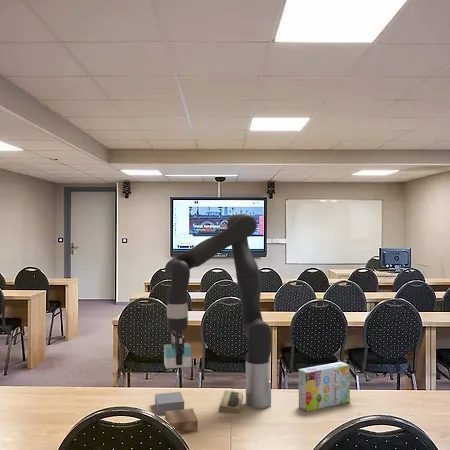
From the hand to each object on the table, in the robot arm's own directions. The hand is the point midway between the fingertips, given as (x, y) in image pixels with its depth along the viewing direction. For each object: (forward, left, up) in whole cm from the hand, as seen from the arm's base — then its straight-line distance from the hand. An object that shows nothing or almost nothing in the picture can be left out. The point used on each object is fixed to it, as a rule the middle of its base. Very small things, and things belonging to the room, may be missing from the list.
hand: (177, 362), depth 161 cm
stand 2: (0, +5, -21) cm, 22 cm away
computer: (-23, -10, -22) cm, 33 cm away
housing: (0, 0, -1) cm, 1 cm away
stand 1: (+2, -12, -21) cm, 25 cm away
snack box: (-58, -1, -22) cm, 62 cm away
